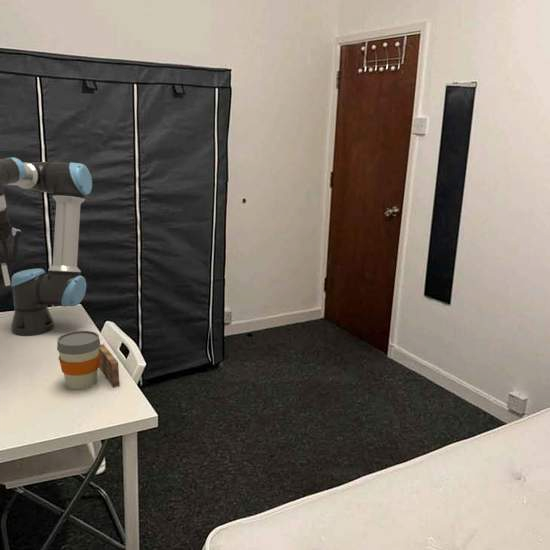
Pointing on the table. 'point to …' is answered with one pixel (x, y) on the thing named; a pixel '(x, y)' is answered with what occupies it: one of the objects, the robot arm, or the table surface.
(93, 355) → the reusable coffee cup
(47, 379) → the table surface
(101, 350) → the board
